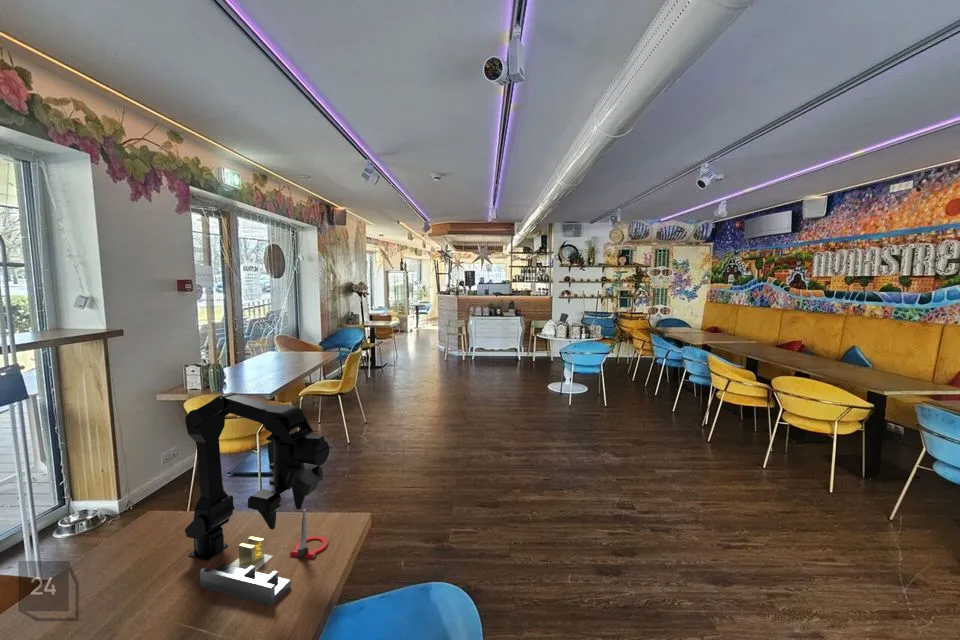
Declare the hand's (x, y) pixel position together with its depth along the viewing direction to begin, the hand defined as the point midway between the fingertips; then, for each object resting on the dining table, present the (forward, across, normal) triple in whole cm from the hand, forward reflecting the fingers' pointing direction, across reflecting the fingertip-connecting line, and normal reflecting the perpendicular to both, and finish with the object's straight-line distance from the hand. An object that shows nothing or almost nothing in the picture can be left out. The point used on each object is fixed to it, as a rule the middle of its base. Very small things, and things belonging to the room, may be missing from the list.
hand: (286, 518), depth 100 cm
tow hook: (+14, +9, -1) cm, 16 cm away
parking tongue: (+14, 0, +10) cm, 17 cm away
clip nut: (+13, 0, +10) cm, 17 cm away
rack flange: (+14, -8, +4) cm, 16 cm away
